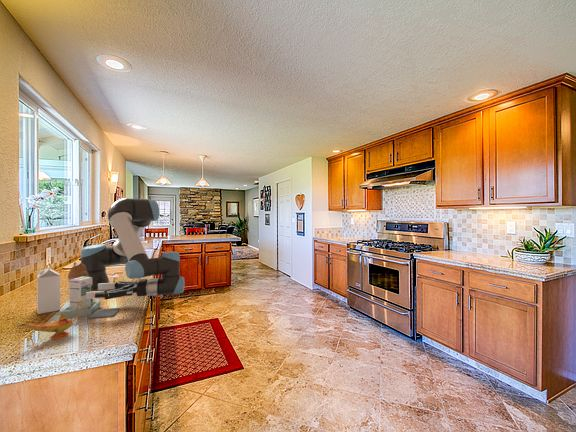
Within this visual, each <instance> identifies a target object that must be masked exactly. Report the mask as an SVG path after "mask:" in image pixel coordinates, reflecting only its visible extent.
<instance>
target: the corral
mask: <svg viewBox="0 0 576 432" xmlns="http://www.w3.org/2000/svg"><path fill="white" fill-rule="evenodd" d="M100 307H101V301H100V300H99V301H95V300H94V301H93V306H92V307H91V308H90V309H86V311H85V309H79V310H78V312H77V311H76V310H70V304H68V305H67V306H65V307H64V308H63V309H62V310H59V318H60V317H61V316H62V314H63V313H64V314H65V316H69V317H68V318H71V316H72V317H73V315H74V314H75V312H77V314H76V315H74V317H78V316H80V315H81V314H82V313H83V312H84V311H85V313H84V314H83V315H81V316H80V317H85V316H87V317H88V316H89V315H91V314H92V313H93V312H94V311H95V310H98V309H100ZM74 317H73V318H74Z"/></svg>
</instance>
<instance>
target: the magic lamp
mask: <svg viewBox="0 0 576 432" xmlns="http://www.w3.org/2000/svg"><path fill="white" fill-rule="evenodd" d="M82 300H83V299H82ZM82 300H81V301H80V302H79V301H78V302H79V304H78V302H77V304H78V305H80V306H81V307H83V306H82V305H81V302H82V303H83V301H82ZM77 307H78V308H79V306H77ZM78 308H77V310H76V311H77V312H78ZM83 308H84V309H85V307H83ZM85 311H86V309H85ZM85 311H84V312H83V313H82V314H81V315H83V314H84V313H85ZM77 312H75V314H74V315H76V314H77ZM74 315H73V317H72V316H71V317H69V316H65V314H64V313H63V314H62V316H61V317H60V316H59V318H57V320H55V321H51V322H49V323H43V324H32V323H31V324H28V323H23V324H22V323H21V324H18V325H16V327H24V328H27V329H29V330H33V331H38V332H43V333H46V332H47V333H54V334H52V335H51V336H50V337H49V338H50V339H51V340H57V339H62V338H66V337H68V336H70V333H69V332H68V331H67V332H66V330H67V329H69V328H71V326H76V325H78V323H79V322H78V321H77V322H76V324H74V321H76V320H77V319H79V318H80V317H82V316H81V315H80V316H76V318H74ZM73 318H74V319H73ZM72 319H73V320H72Z"/></svg>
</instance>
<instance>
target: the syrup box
mask: <svg viewBox="0 0 576 432" xmlns="http://www.w3.org/2000/svg"><path fill="white" fill-rule="evenodd" d="M68 282H69V283H68V286H69V287H68V288H69V290H68V293H69V295H68V296H69V297H68V298H69V305H70V310H77V308H78V307H77V306H79V308H78V310H79V309H84V308H83V307H85V309H90V308H91V307H92V306H93V302H94V301H93V299H86V292H94V291H93V290H94V289H92V277H79V278H75V279H71V280H69V281H68ZM82 299H83V300H82ZM81 300H82V301H83V303H82V302H81V305H82V306H83V307H81V306H80V305H78V304H79V302H80V301H81ZM78 301H79V302H78ZM77 302H78V304H77Z"/></svg>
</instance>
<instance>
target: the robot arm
mask: <svg viewBox="0 0 576 432" xmlns="http://www.w3.org/2000/svg"><path fill="white" fill-rule="evenodd" d="M159 218H160V207H159V204H158V202H157V201H156V200H155V199H149V198H130V197H128V198H127V197H126V198H121V199H117V200H116V201H115V202H113V203H112V204H111V205H110V207H109V208H108V212H107V219H108V222H109V225H110V226H111V227H113V228H114V230H115V232H116V235H117V237H118V240H116V241H115V242H114V243H113V245H108V246H107V245H106V244H104V243H101V244H99V243H98V244H93V245H87V246H84V247H82V248H81V251H80V263H83V264H84V265H85V266H86V271H87V272H88V277H92V289H93V290H97V291H93V292H86V299H94V300H95V299H104V300H109V299H117V298H122V297H128V296H130V297H131V296H133V294H134V293H136V296H137V297H147V296H153V297H156V296H163V295H178V294H182V293H184V291H185V277H184V276H181V274H180V271H181V270H180V269H181V265H180V264H181V256H180V253H179V251H174V250H173V251H172V250H170V251H164V252H162V253H161V256H160V257H153V258H149V256H148V254H147V252H146V250H145V248H144V246H143V244H142V242H141V239H140V236H141V234H142V233H143V232H144V229H145V228H146V227H148V226H150V224H151V222H156V221H158V220H159ZM120 265H125V269H124V271H125V276H126V277H127V278H128V279H130V280H131V279H133V280H134V279H138V281H126V280H125V281H123V280H119V281H116V282H110V279H109V276H108V274H107V271H106V270H107V269H106V268H107V267H111V266H112V267H113V266H120ZM159 275H161V277H157V278H156V277H154V278H153V277H152V276H159ZM146 277H151V278H148V279H147V278H146Z"/></svg>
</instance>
